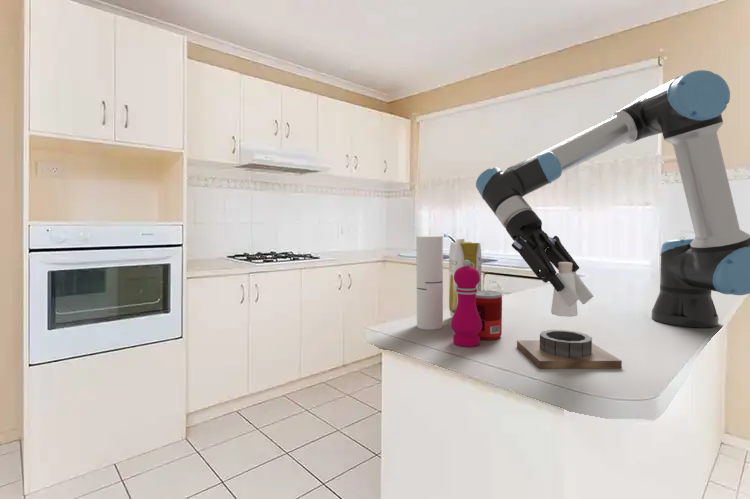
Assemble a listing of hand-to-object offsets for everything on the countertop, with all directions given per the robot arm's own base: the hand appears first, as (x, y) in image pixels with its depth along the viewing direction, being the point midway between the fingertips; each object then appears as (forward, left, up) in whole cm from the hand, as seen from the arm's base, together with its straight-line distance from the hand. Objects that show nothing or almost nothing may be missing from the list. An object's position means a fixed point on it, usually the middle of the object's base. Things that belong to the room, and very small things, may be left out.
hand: (581, 301), depth 85 cm
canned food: (+15, -19, -13) cm, 27 cm away
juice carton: (+17, -36, -13) cm, 42 cm away
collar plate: (+2, -3, -13) cm, 13 cm away
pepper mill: (+21, -13, -13) cm, 28 cm away
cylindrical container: (+28, -29, -13) cm, 42 cm away
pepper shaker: (+2, -3, -4) cm, 5 cm away
